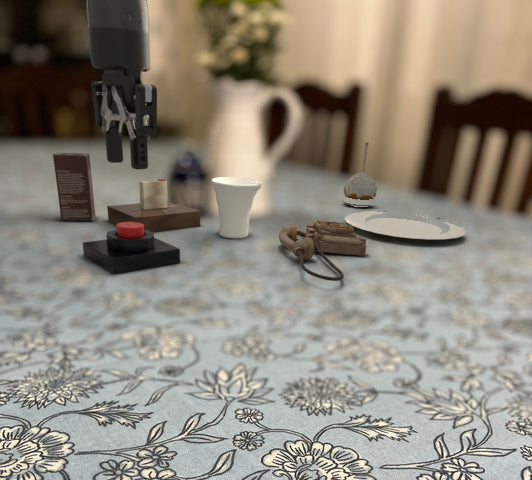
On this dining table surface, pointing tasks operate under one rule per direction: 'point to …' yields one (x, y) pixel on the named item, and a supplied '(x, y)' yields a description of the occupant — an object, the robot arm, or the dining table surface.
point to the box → (74, 186)
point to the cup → (234, 204)
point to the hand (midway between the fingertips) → (127, 165)
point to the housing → (130, 252)
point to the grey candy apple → (361, 184)
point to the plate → (402, 228)
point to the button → (130, 229)
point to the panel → (155, 216)
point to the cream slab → (153, 194)
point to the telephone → (322, 243)
